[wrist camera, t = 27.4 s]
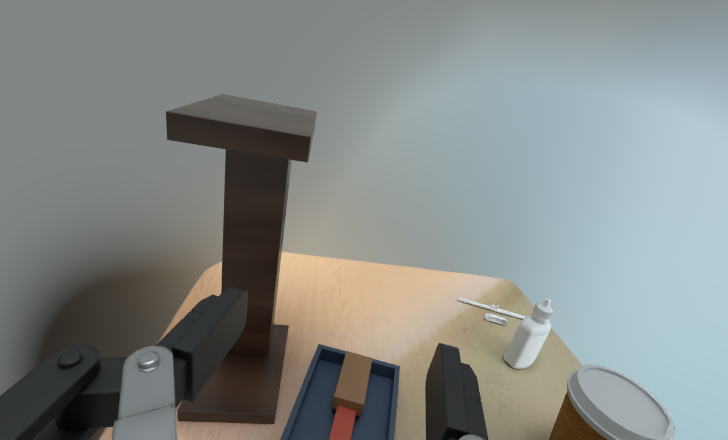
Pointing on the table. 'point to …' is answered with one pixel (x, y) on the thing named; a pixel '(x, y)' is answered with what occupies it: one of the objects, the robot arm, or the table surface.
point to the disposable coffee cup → (609, 409)
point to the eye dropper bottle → (529, 337)
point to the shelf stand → (248, 242)
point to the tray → (315, 398)
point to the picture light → (493, 317)
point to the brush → (349, 395)
